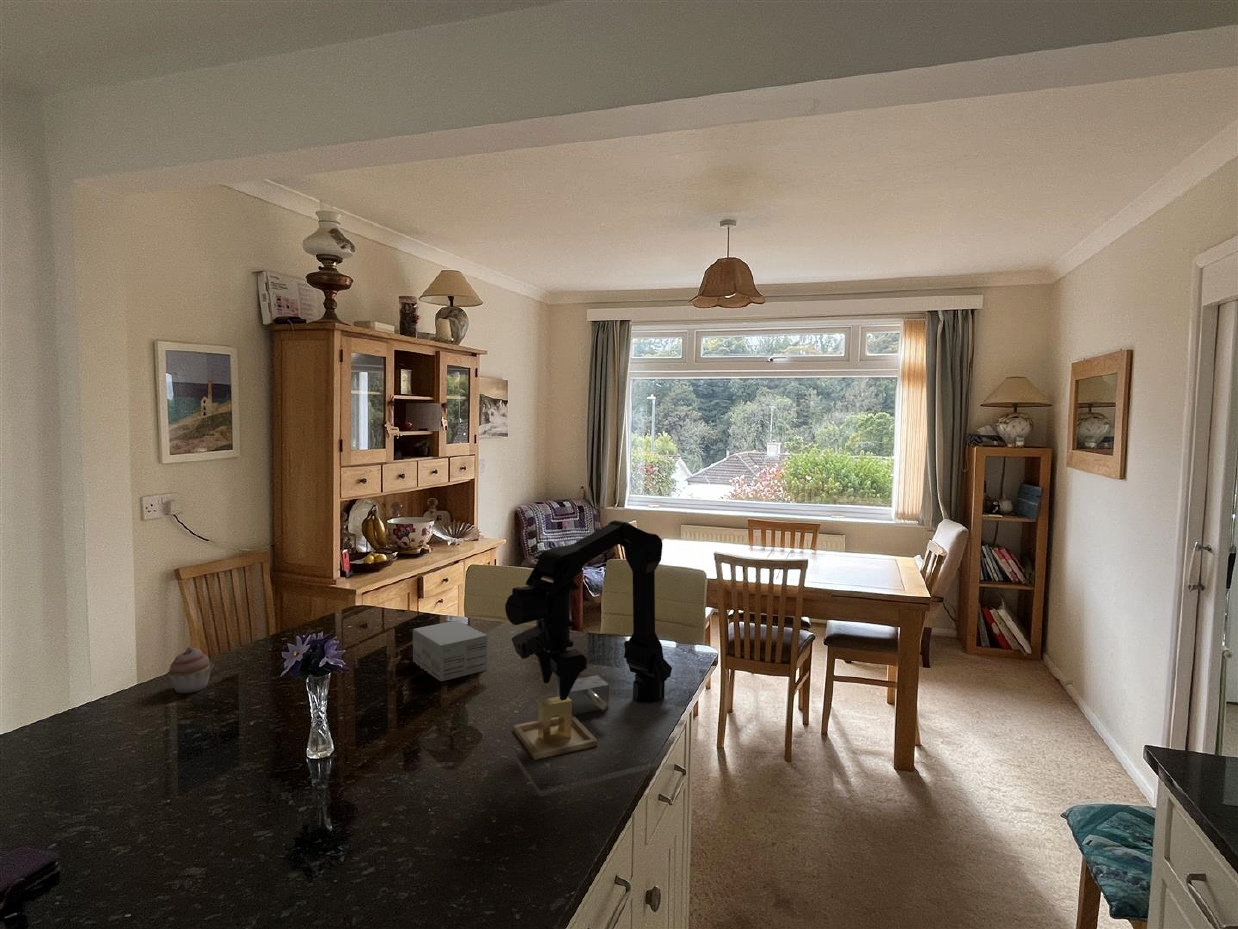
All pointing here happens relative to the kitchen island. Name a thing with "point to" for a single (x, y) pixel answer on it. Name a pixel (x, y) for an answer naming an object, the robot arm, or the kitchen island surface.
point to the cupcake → (190, 671)
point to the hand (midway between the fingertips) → (554, 691)
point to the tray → (539, 750)
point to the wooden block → (548, 710)
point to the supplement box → (450, 650)
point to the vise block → (588, 694)
